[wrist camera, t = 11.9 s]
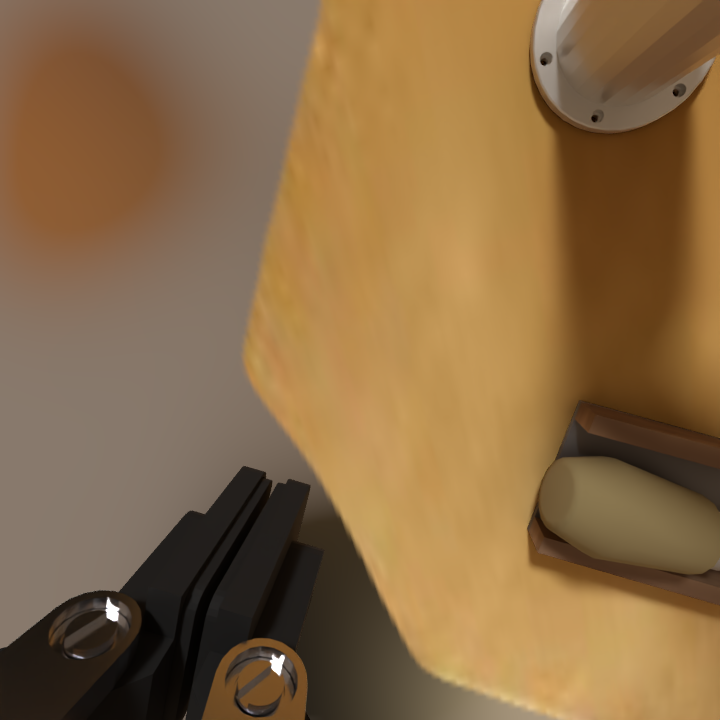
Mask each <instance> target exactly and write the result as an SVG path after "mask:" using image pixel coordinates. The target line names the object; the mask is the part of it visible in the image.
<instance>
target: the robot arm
mask: <svg viewBox="0 0 720 720" xmlns="http://www.w3.org/2000/svg"><path fill="white" fill-rule="evenodd" d="M719 54H720V0H541V2H540V4H539V7H538V9H537V13H536V16H535V19H534V23H533V26H532V33H531V41H530V60H531V67H532V72H533V76H534V80H535V83H536V85H537V87H538V89H539V92H540V94H541V96H542V98H543V99H544V100H545V102H546V103H547V104H548V106H549V107H550V109H551V110H552V111H554V112H555V113H556V114H557V115H558V116H559V117H560V118H561V119H563V120H564V121H566V122H568V123H569V124H571V125H573V126H575V127H577V128H580V129H583V130H586V131H590V132H594V133H606V134H611V133H620V132H627V131H630V130H633V129H637V128H640V127H643V126H645V125H647V124H649V123H651V122H653V121H655V120H657V119H659V118H661V117H662V116H664V115H666V114H667V113H669V112H670V111H672V110H674V109H675V108H676V107H677V106H679V105H680V104H681V103H682V102H683V101H685V100H686V99H687V98H688V97H689V96H690V95H691V94H692V92H693V91H694V90H695V89H696V88H697V86H698V85H699V84H700V83H701V82H702V80H703V79H704V77H705V76H706V74H707V72H708V71H709V69H710V67H711V66H712V64H713V62H714V60H715V58H716V56H717V55H719ZM540 61H545V62H546V66H543V65H542V64H541V63H540ZM673 91H674V92H675V96H674V95H673ZM591 116H594V117H595V118H596V121H595V123H594V122H592V120H591ZM271 487H272V480H269V479H266V472H264V471H260V470H257V469H253V468H249V467H246V466H243V467H242V468H241V469H240V471H239V472H238V473H237V474H236V476H235V477H234V478H233V480H232V481H231V482H230V483H229V485H228V486H227V487H226V489H225V490H224V491H223V492H222V494H221V495H220V496H219V497H218V499H217V500H216V501H215V503H214V504H213V505H212V506H211V508H210V509H209V510H208V511H207V513H206V514H202V513H198V512H195V511H189V512H188V513H187V514H186V515H185V516H184V517H183V518H182V519H181V520H180V521H179V523H178V524H177V525H176V526H175V527H174V528H173V530H172V531H171V532H170V533H169V534H168V535H167V536H166V538H165V539H164V540H163V541H162V542H161V543H160V545H159V546H158V547H157V548H156V549H155V550H154V552H153V553H152V554H151V555H150V556H149V557H148V558H147V560H146V561H145V562H144V563H143V564H142V565H141V567H140V568H139V569H138V570H137V571H136V572H135V574H134V575H133V576H132V577H131V578H130V579H129V581H128V582H127V583H126V584H125V585H124V586H123V588H122V589H121V590H120V591H119V592H116V591H106V590H98V591H93V592H87V593H83V594H81V595H78V596H76V597H73V598H71V599H69V600H67V601H65V602H64V603H62V604H61V605H59V606H58V607H56V608H55V609H53V610H52V611H51V612H50V613H48V614H47V615H46V616H45V617H43V618H42V619H41V620H40V621H39V622H37V623H36V624H35V625H33V626H32V627H31V628H30V629H28V630H27V631H26V632H25V633H23V634H22V635H21V636H20V637H18V638H17V639H16V640H15V641H13V642H12V643H11V644H10V645H9V646H7V647H5V648H1V649H0V720H183V718H184V716H185V714H186V712H187V715H186V720H310V719H309V717H308V715H307V713H306V711H305V709H306V696H307V674H306V670H305V668H304V665H303V663H302V661H301V659H300V658H299V657H298V655H297V654H296V650H297V647H298V643H299V640H300V636H301V633H302V630H303V626H304V622H305V619H306V616H307V612H308V609H309V605H310V601H311V598H312V594H313V591H314V587H315V583H316V580H317V576H318V572H319V569H320V565H321V561H322V557H323V554H324V550H323V549H320V548H317V547H313V546H310V545H306V544H303V543H299V542H297V540H298V535H299V532H300V528H301V524H302V519H303V515H304V512H305V508H306V504H307V500H308V495H309V491H310V485H308V484H305V483H301V482H298V481H295V480H291V479H288V481H287V483H286V484H283V483H278V484H277V485H276V487H275V489H274V491H273V492H272V494H271V496H270V492H271ZM269 496H270V498H269Z"/></svg>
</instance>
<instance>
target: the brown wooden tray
mask: <svg viewBox="0 0 720 720" xmlns="http://www.w3.org/2000/svg"><path fill="white" fill-rule="evenodd" d="M586 456H605V457H611V458H616V459H618V460H620V461H623V462H625V463H628V464H630V465H632V466H635V467H637V468H640V469H642V470H644V471H647V472H649V473H651V474H654V475H656V476H659V477H661V478H663V479H666V480H668V481H671V482H673V483H675V484H678V485H680V486H682V487H685V488H687V489H690V490H692V491H694V492H697V493H699V494H702V495H703V496H705V497H706V498H707V499H709V500H710V501H711V502H713V503H714V504H715V506H716V507H717V509H718V511H719V512H720V438H716V437H713V436H709V435H705V434H702V433H698V432H694V431H691V430H687V429H683V428H680V427H676V426H672V425H669V424H665V423H661V422H658V421H654V420H650V419H647V418H643V417H639V416H635V415H632V414H628V413H624V412H621V411H617V410H613V409H610V408H606V407H602V406H599V405H595V404H591V403H588V402H584V401H580V400H579V403H578V405H577V407H576V410H575V412H574V415H573V417H572V420H571V422H570V425H569V427H568V430H567V432H566V434H565V437H564V439H563V442H562V444H561V447H560V449H559V452H558V454H557V457H556V459H555V461H556V460H558V459H560V458H562V457H586ZM538 506H539V501H538V503H537V506H536V508H535V511H534V513H533V515H532V518H531V520H530V523H529V525H528V528H527V529H528V531H529V533H530V536H531V538H532V540H533V543H534V545H535V547H536V550H537V552H538V553H541V554H544V555H548V556H551V557H555V558H558V559H561V560H565V561H568V562H572V563H575V564H579V565H582V566H586V567H589V568H593V569H596V570H599V571H603V572H606V573H610V574H613V575H617V576H620V577H624V578H627V579H631V580H634V581H638V582H641V583H644V584H648V585H651V586H655V587H658V588H662V589H665V590H669V591H672V592H676V593H679V594H682V595H686V596H689V597H693V598H696V599H700V600H703V601H707V602H710V603H714V604H717V605H720V571H717V570H713V569H709V570H708V571H706V572H704V573H703V574H690V575H688V574H682V573H676V572H670V571H664V570H659V569H653V568H647V567H641V566H635V565H630V564H624V563H618V562H612V561H606V560H601V559H595V558H592V557H590V556H588V555H587V554H585V553H583V552H581V551H580V550H578V549H577V548H575V547H574V546H572V545H571V544H569V543H568V542H567V541H565V540H564V539H562V538H561V537H559V536H558V535H556V534H555V533H553V532H552V531H551V530H549V529H548V528H546V526H545V525H544V523H543V521H542V520H541V516H540V512H539V507H538Z"/></svg>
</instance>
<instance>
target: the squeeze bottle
mask: <svg viewBox="0 0 720 720" xmlns="http://www.w3.org/2000/svg"><path fill="white" fill-rule="evenodd" d="M538 507H539V512H540V516H541V520H542V521H543V523H544V525H545V526H546V528H548V529H549V530H551V531H552V532H553V533H555V534H556V535H558V536H559V537H561V538H562V539H564V540H565V541H567V542H568V543H569V544H571V545H572V546H574V547H575V548H577V549H578V550H580V551H581V552H583V553H585V554H587V555H588V556H590V557H592V558H595V559H601V560H606V561H612V562H618V563H624V564H630V565H635V566H641V567H647V568H653V569H659V570H664V571H670V572H676V573H682V574H688V575H690V574H703V573H704V572H706V571H708V570H709V569H713V570H717V571H720V512H719V511H718V509H717V507H716V506H715V504H714V503H713V502H711V501H710V500H709V499H707V498H706V497H705V496H703V495H702V494H699V493H697V492H694V491H692V490H690V489H687V488H685V487H682V486H680V485H678V484H675V483H673V482H671V481H668V480H666V479H663V478H661V477H659V476H656V475H654V474H651V473H649V472H647V471H644V470H642V469H640V468H637V467H635V466H632V465H630V464H628V463H625V462H623V461H620V460H618V459H616V458H611V457H605V456H586V457H562V458H560V459H558V460H556V461H554V462H553V463H552V464H551V465H550V467H549V468H548V469H547V471H546V473H545V475H544V477H543V479H542V482H541V486H540V491H539V506H538Z"/></svg>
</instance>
